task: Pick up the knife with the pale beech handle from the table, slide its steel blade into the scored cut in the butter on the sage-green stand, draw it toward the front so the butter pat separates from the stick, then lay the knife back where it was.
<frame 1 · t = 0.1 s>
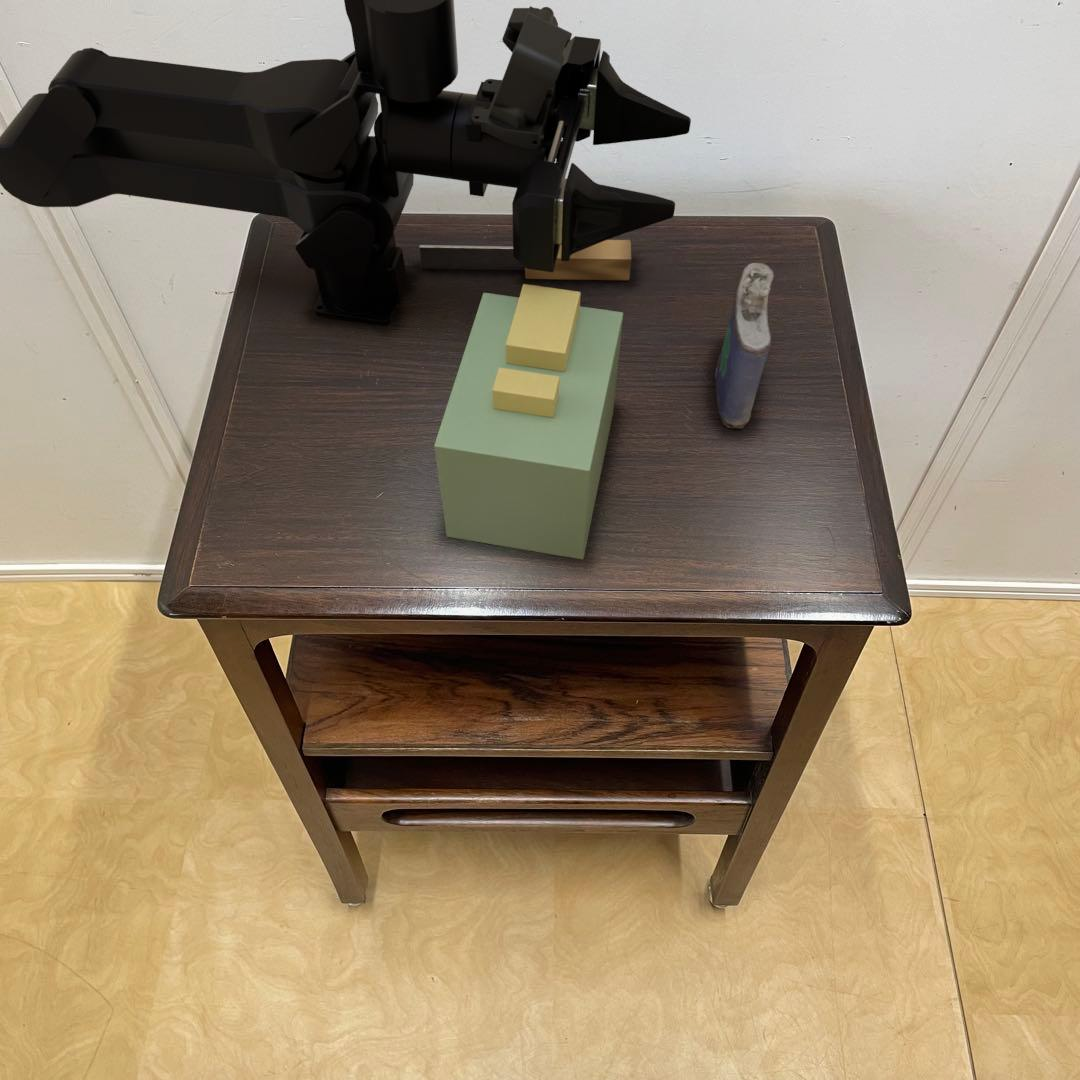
hand: (682, 166, 69), 17 cm above the table, tool horizontal, fingers open, 9 cm apart
knife: (525, 269, 87), on the table
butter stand: (533, 471, 75), on the table
butter pat: (526, 401, 65), point 11 cm above the table, touching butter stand
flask: (733, 387, 80), on the table
butter stick: (543, 336, 68), point 11 cm above the table, touching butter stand
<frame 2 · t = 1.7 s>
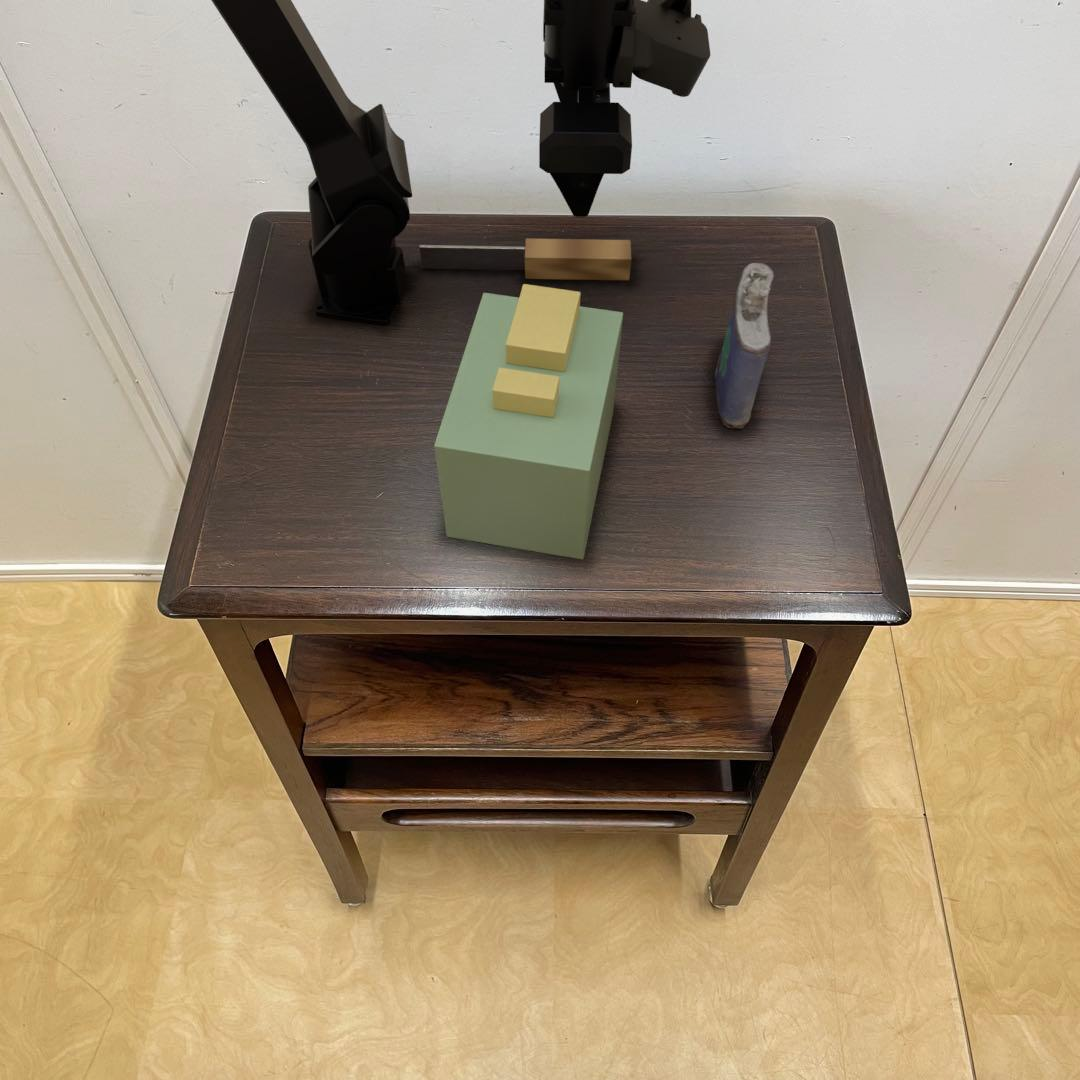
hand: (580, 176, 79), 10 cm above the table, tool pointing down, fingers open, 9 cm apart
nothing on the table moved.
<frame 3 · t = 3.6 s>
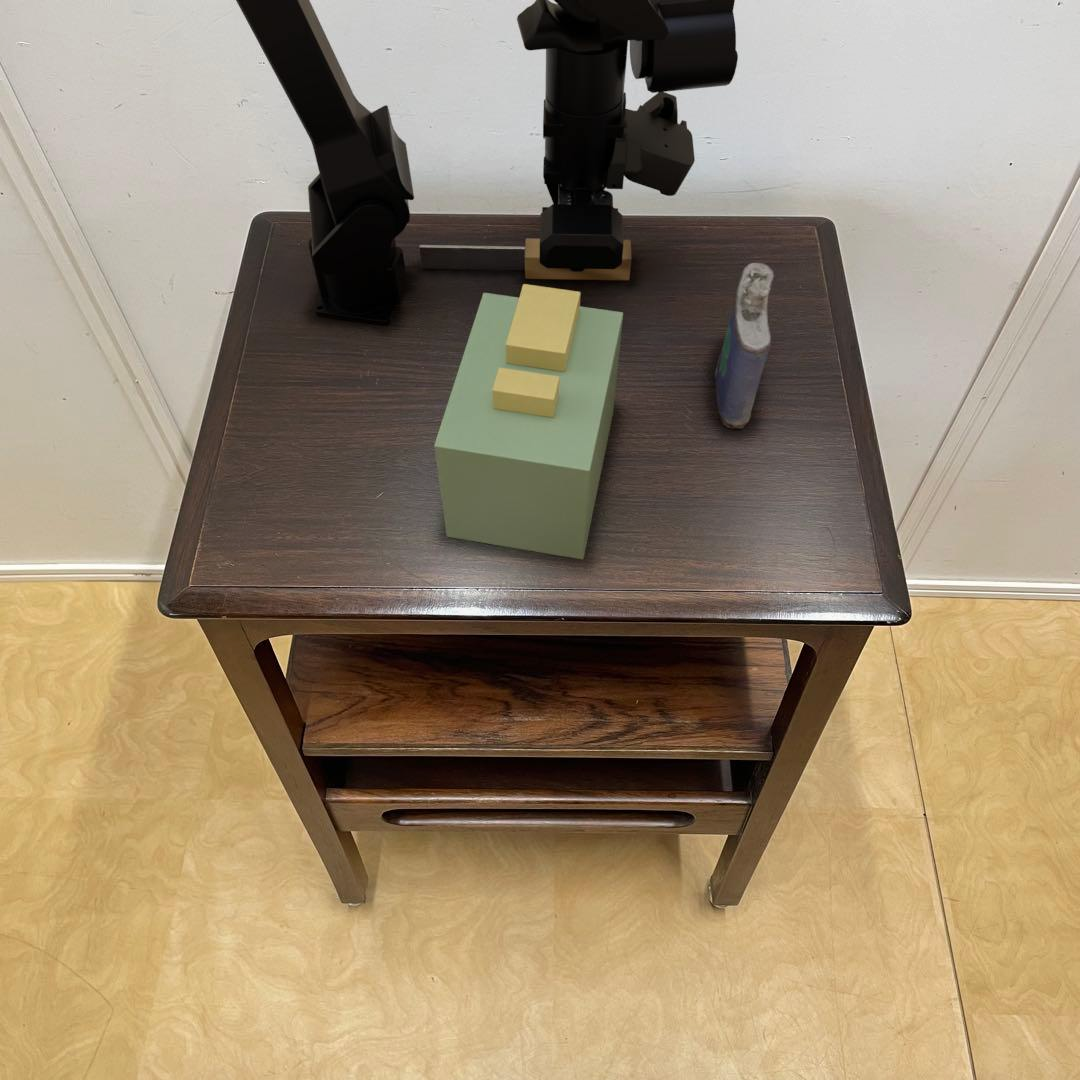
hand: (577, 259, 86), 1 cm above the table, tool pointing down, fingers closed on knife, 2 cm apart
knife: (525, 269, 87), on the table, touching gripper
everything else where it was.
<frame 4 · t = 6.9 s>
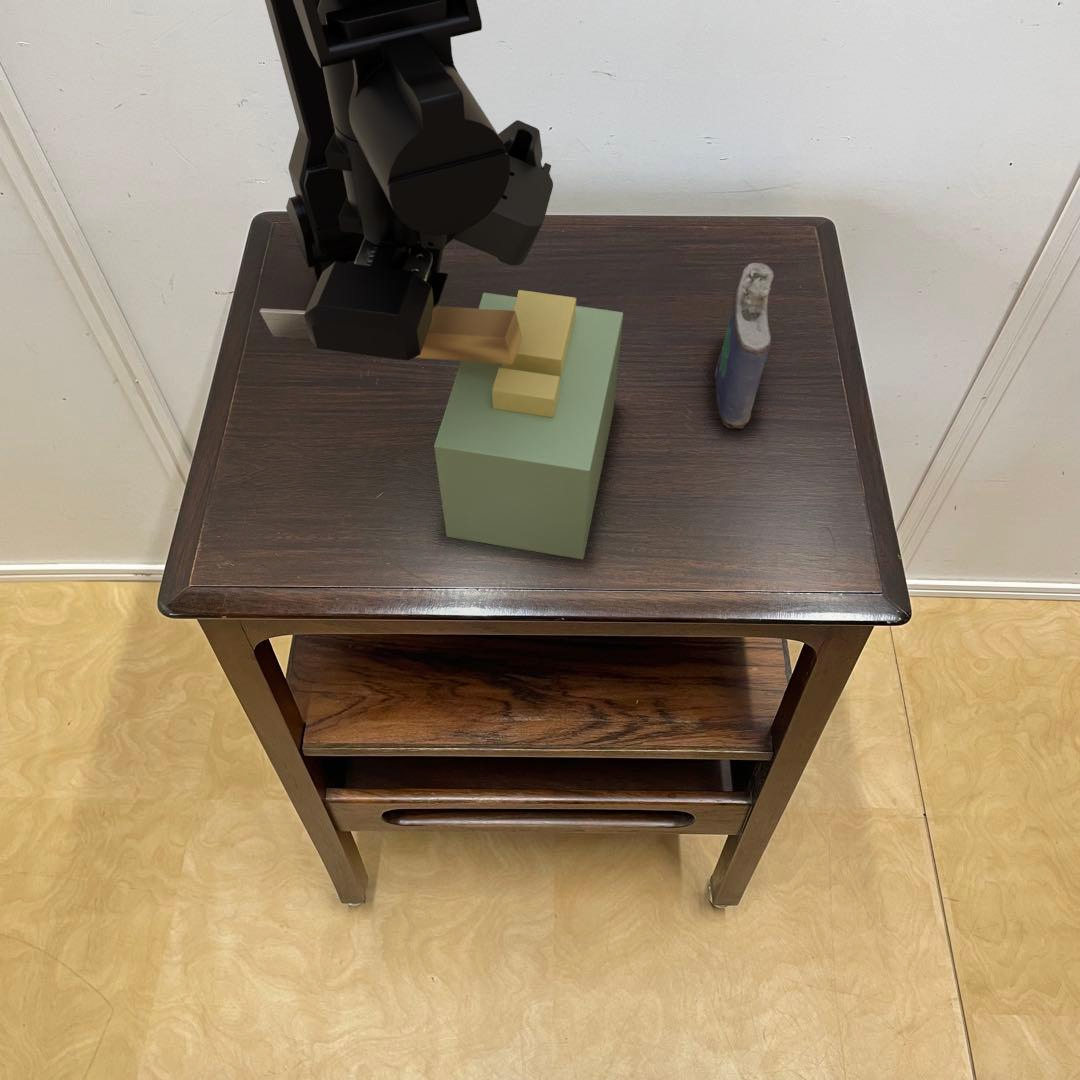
hand: (418, 329, 65), 13 cm above the table, tool pointing down, fingers closed on knife, 2 cm apart
knife: (391, 342, 67), point 11 cm above the table, tilted 11°, touching gripper
everything else where it was.
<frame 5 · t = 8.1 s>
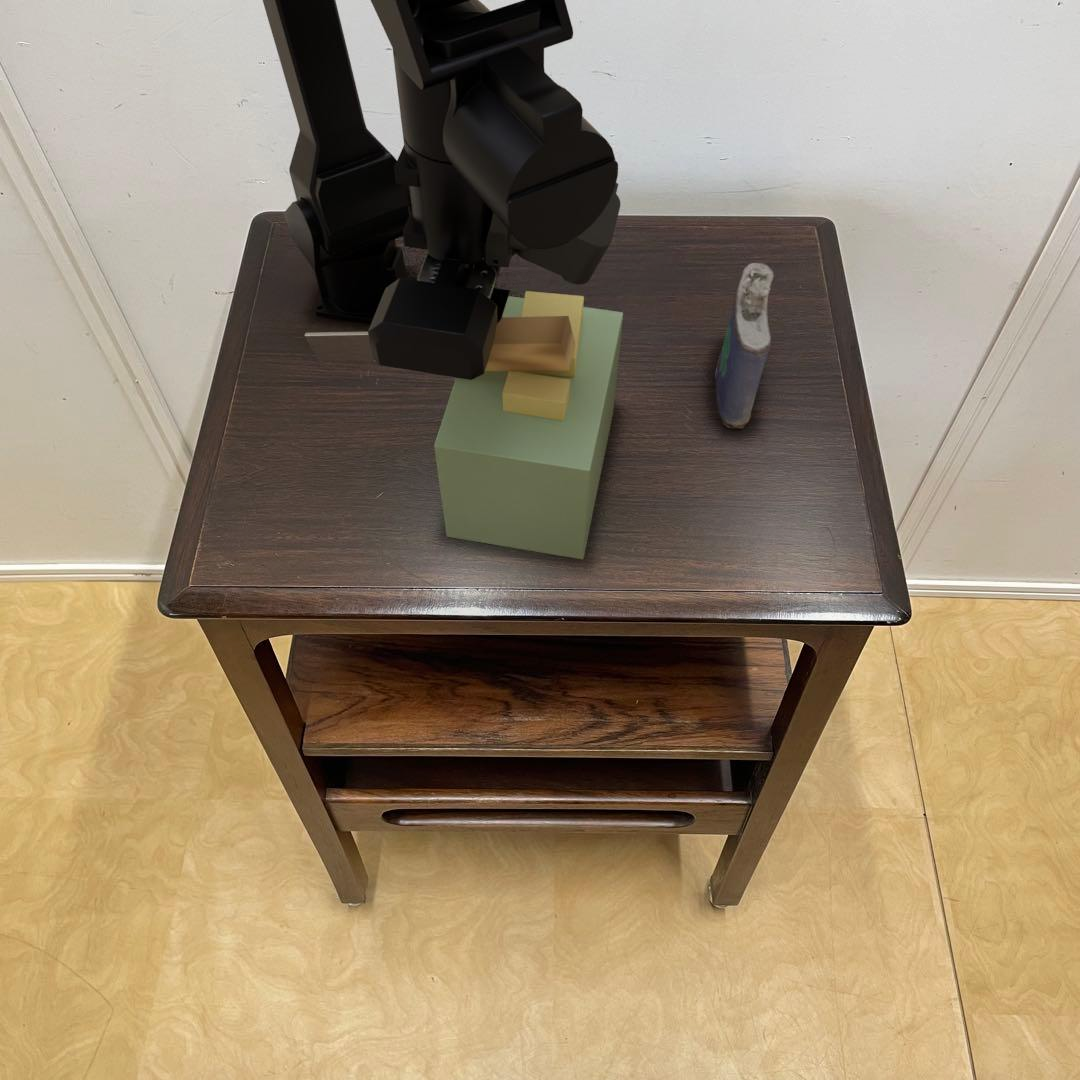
hand: (472, 344, 64), 13 cm above the table, tool pointing down, fingers closed on knife, 2 cm apart
knife: (440, 358, 66), point 11 cm above the table, tilted 13°, touching butter stick, gripper
butter stick: (549, 343, 68), point 11 cm above the table, touching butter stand, knife
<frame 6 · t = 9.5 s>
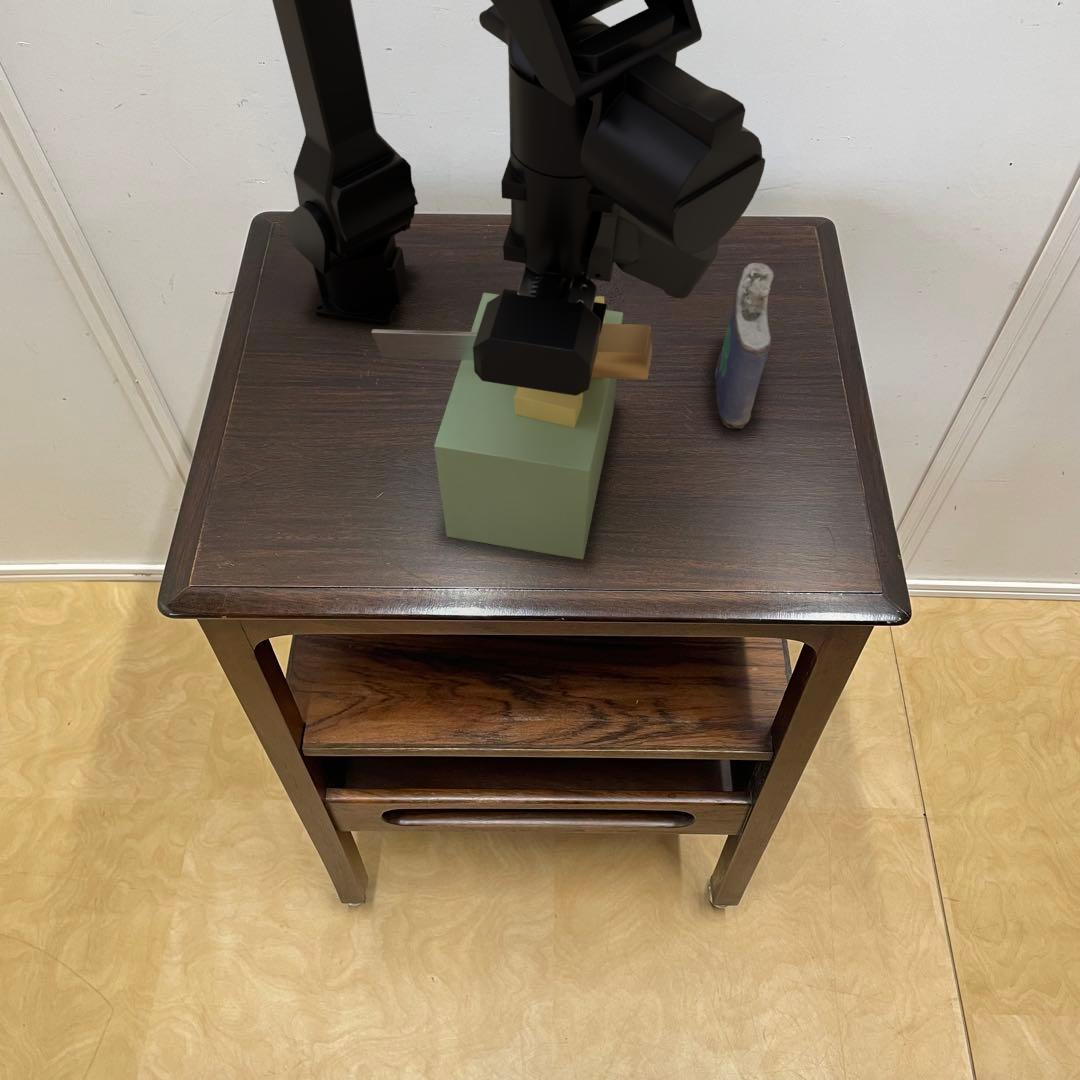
hand: (558, 356, 64), 13 cm above the table, tool pointing down, fingers closed on knife, 2 cm apart
knife: (512, 360, 65), point 12 cm above the table, tilted 9°, touching gripper
butter stick: (573, 345, 67), point 11 cm above the table, touching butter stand
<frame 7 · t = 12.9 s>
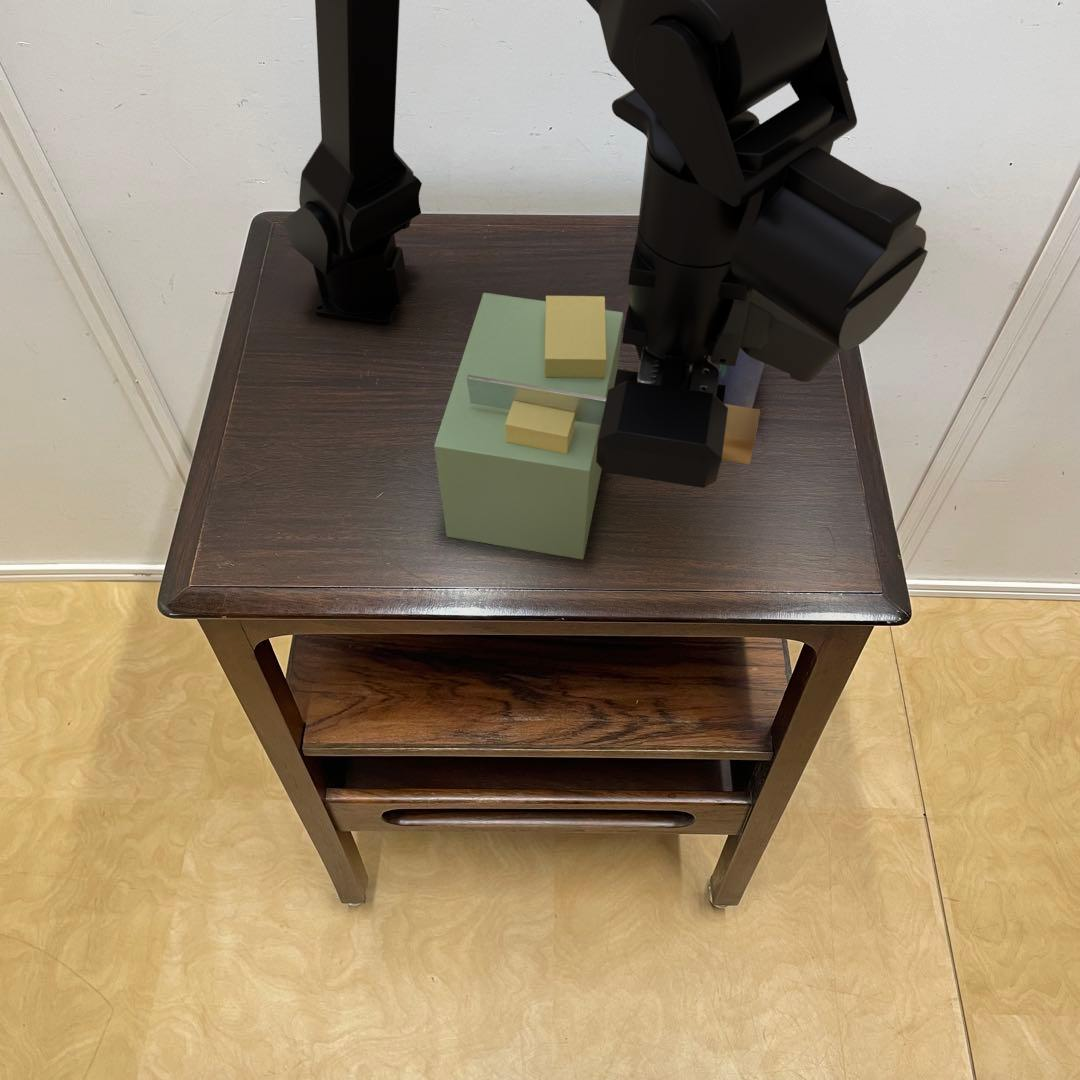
hand: (662, 430, 62), 12 cm above the table, tool pointing down, fingers closed on knife, 2 cm apart
knife: (608, 425, 62), point 12 cm above the table, touching butter pat, gripper
butter pat: (540, 436, 63), point 11 cm above the table, touching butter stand, knife
everything else where it was.
when the fingers open (0 cm above the table, at t = 20.8 s): knife stays where it is, on the table.
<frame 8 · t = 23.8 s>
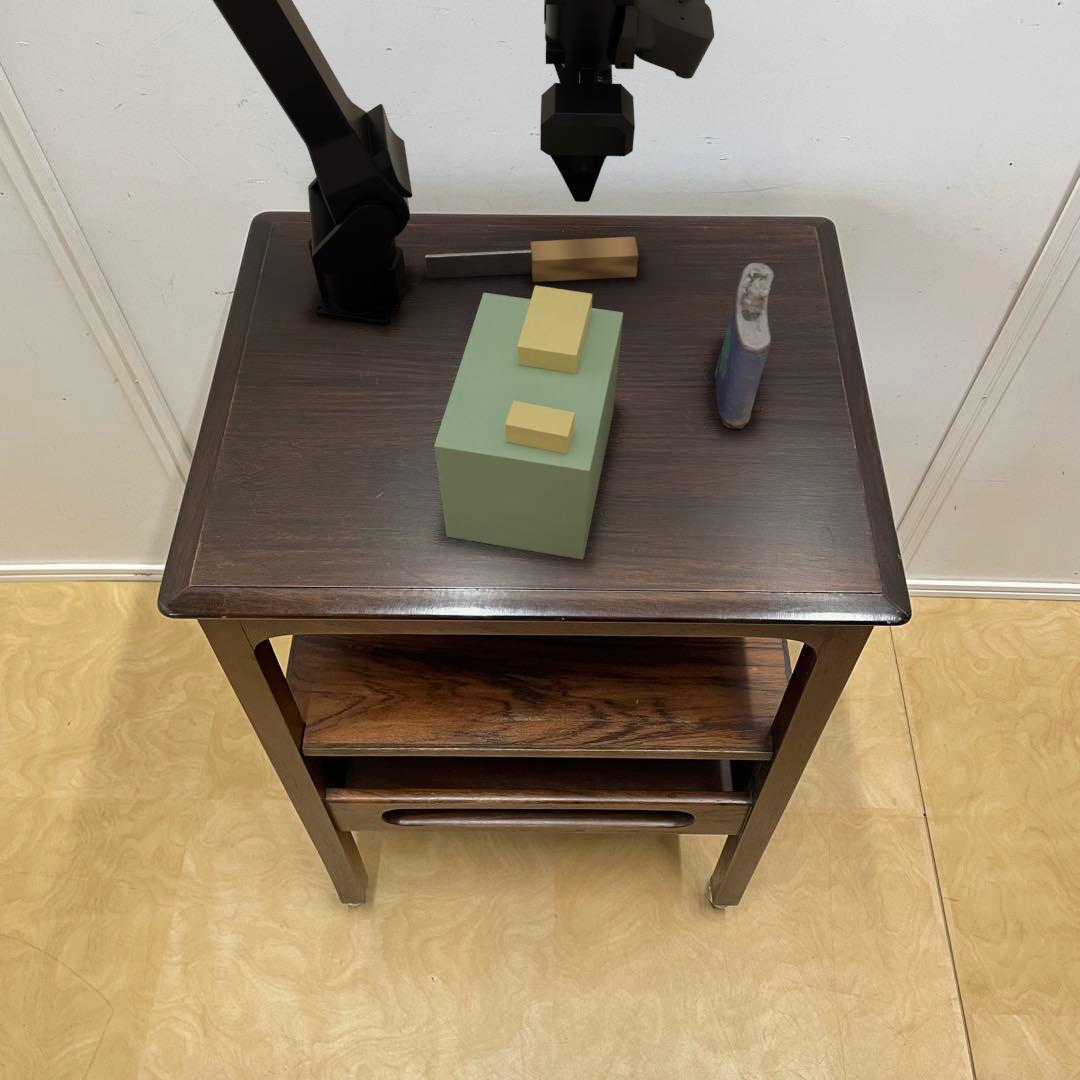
hand: (581, 161, 77), 11 cm above the table, tool pointing down, fingers open, 9 cm apart
knife: (531, 272, 87), on the table
butter pat: (540, 436, 63), point 11 cm above the table, touching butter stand
butter stick: (555, 338, 68), point 11 cm above the table, touching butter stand
everything else where it was.
at the end: butter pat moved 3.0 cm from its start; butter stick moved 0.8 cm from its start; the gripper is holding nothing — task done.
